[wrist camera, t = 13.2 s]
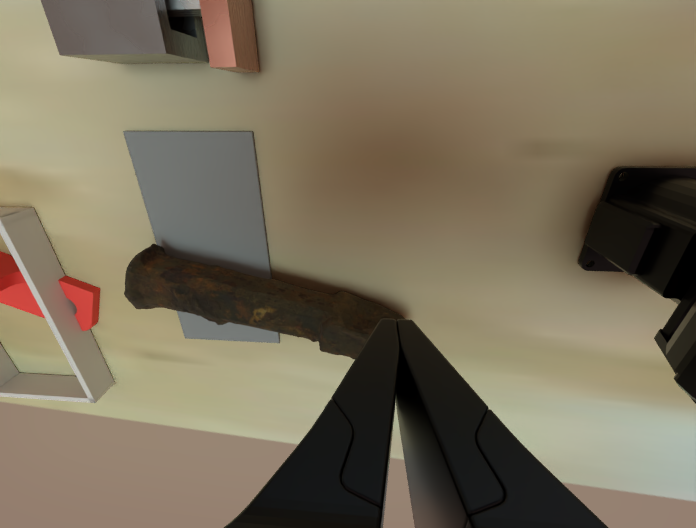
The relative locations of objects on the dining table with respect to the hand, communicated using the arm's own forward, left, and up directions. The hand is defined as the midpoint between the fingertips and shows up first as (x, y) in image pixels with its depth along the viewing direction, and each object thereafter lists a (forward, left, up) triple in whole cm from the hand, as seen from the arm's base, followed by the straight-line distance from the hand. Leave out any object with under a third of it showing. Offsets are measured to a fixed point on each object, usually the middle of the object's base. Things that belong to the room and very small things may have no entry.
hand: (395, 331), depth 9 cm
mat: (+12, +4, -13) cm, 18 cm away
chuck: (+12, -10, -13) cm, 21 cm away
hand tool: (+7, +6, -13) cm, 16 cm away
